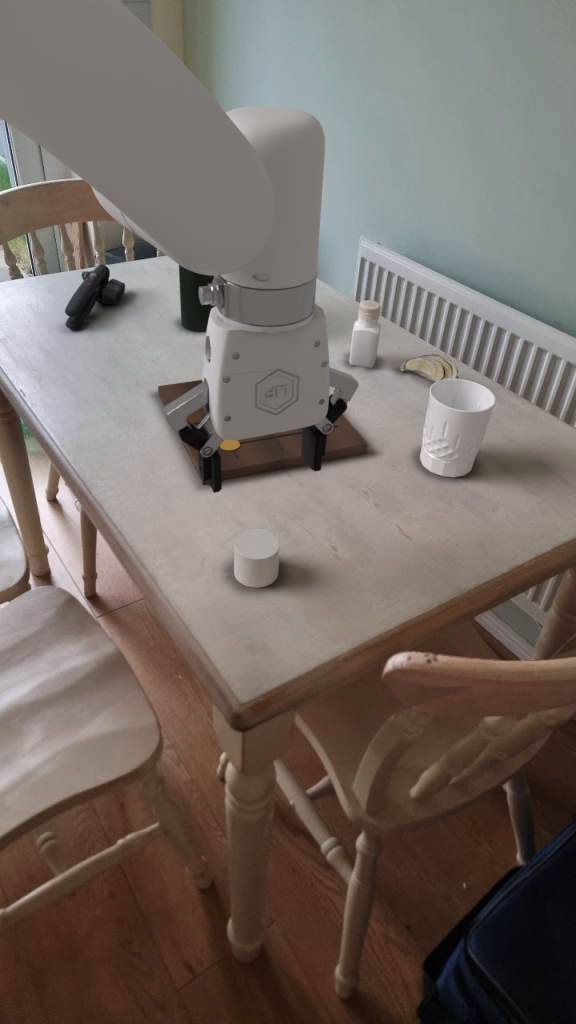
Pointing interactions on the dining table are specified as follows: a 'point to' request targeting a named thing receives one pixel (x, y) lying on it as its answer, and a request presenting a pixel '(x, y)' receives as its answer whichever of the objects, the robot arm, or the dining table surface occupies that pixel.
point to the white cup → (455, 426)
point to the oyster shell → (431, 367)
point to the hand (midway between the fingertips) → (262, 472)
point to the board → (265, 443)
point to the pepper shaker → (366, 335)
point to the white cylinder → (256, 557)
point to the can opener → (93, 295)
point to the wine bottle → (193, 300)
